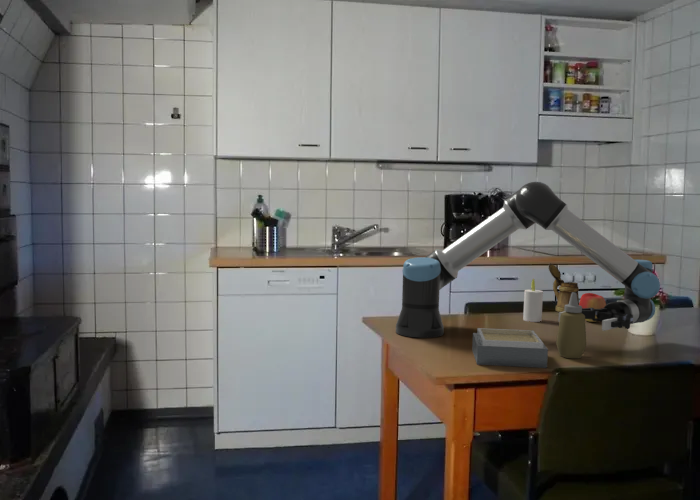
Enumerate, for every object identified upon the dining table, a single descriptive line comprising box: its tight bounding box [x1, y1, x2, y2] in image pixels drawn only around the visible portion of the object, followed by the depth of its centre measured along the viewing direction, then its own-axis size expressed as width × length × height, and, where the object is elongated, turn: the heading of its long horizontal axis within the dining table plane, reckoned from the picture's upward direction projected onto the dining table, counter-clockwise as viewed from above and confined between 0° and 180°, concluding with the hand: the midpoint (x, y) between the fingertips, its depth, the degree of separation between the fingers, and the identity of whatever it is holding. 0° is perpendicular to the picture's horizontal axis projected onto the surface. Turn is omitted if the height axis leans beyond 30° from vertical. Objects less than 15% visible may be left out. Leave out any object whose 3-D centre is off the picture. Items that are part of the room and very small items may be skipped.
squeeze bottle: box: [555, 292, 587, 359], centre depth 189 cm, size 8×8×18 cm
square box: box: [471, 327, 549, 369], centre depth 186 cm, size 18×16×6 cm
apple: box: [579, 292, 607, 323], centre depth 241 cm, size 10×10×10 cm
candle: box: [522, 278, 544, 323], centre depth 241 cm, size 6×6×15 cm
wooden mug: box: [548, 262, 580, 313], centre depth 261 cm, size 9×14×18 cm, turn 42°
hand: (580, 321), depth 191 cm, fingers open, 13 cm apart
